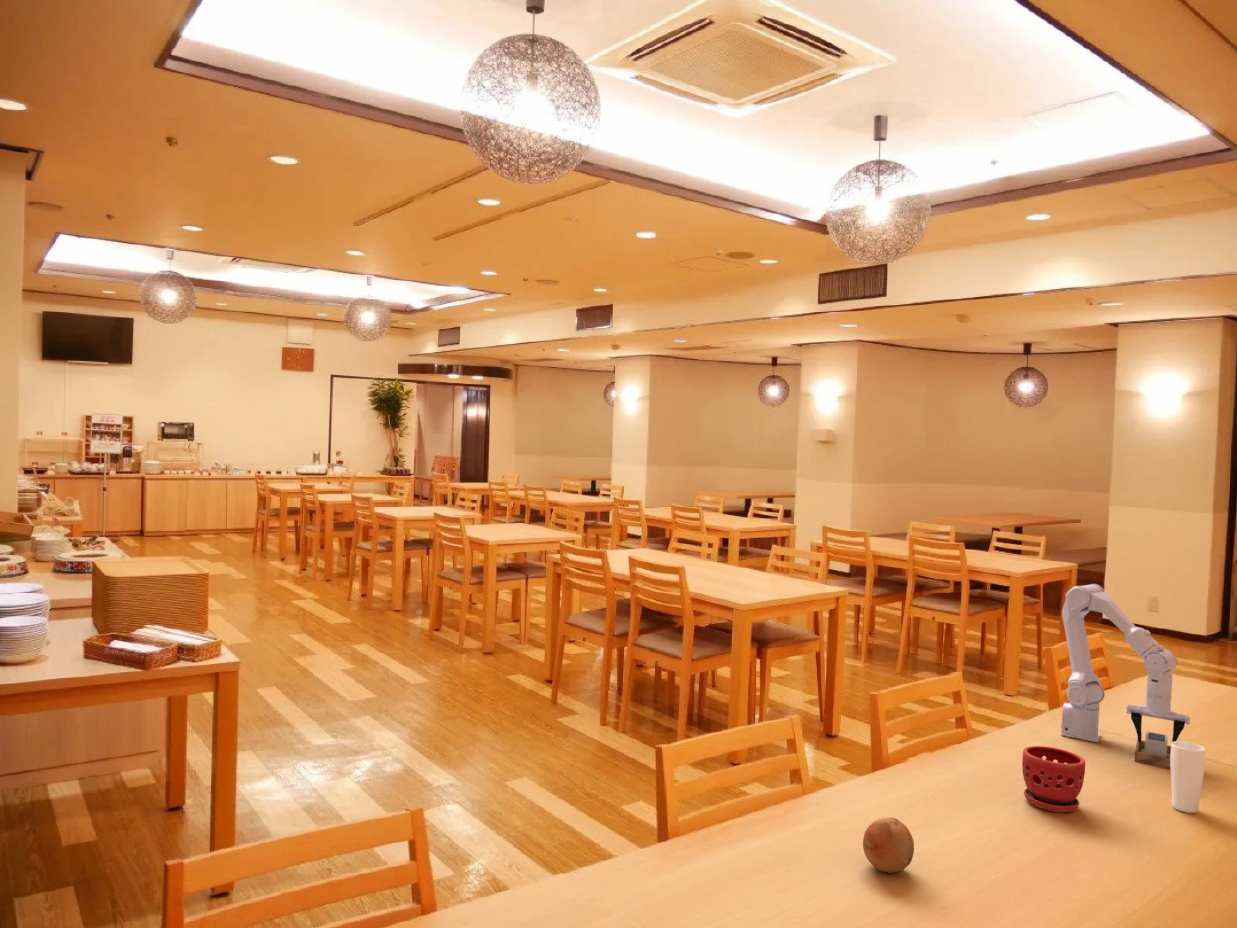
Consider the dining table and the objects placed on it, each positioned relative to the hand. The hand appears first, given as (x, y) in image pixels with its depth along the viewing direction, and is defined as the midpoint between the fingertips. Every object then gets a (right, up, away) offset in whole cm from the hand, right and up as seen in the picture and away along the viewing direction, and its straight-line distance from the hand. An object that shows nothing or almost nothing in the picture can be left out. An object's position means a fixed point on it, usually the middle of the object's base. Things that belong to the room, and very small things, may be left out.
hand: (1156, 744), depth 233 cm
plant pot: (-45, -4, -32) cm, 55 cm away
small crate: (0, -3, 0) cm, 3 cm away
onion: (-94, -3, -65) cm, 114 cm away
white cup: (-14, -5, -32) cm, 35 cm away
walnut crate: (0, -4, 0) cm, 4 cm away
